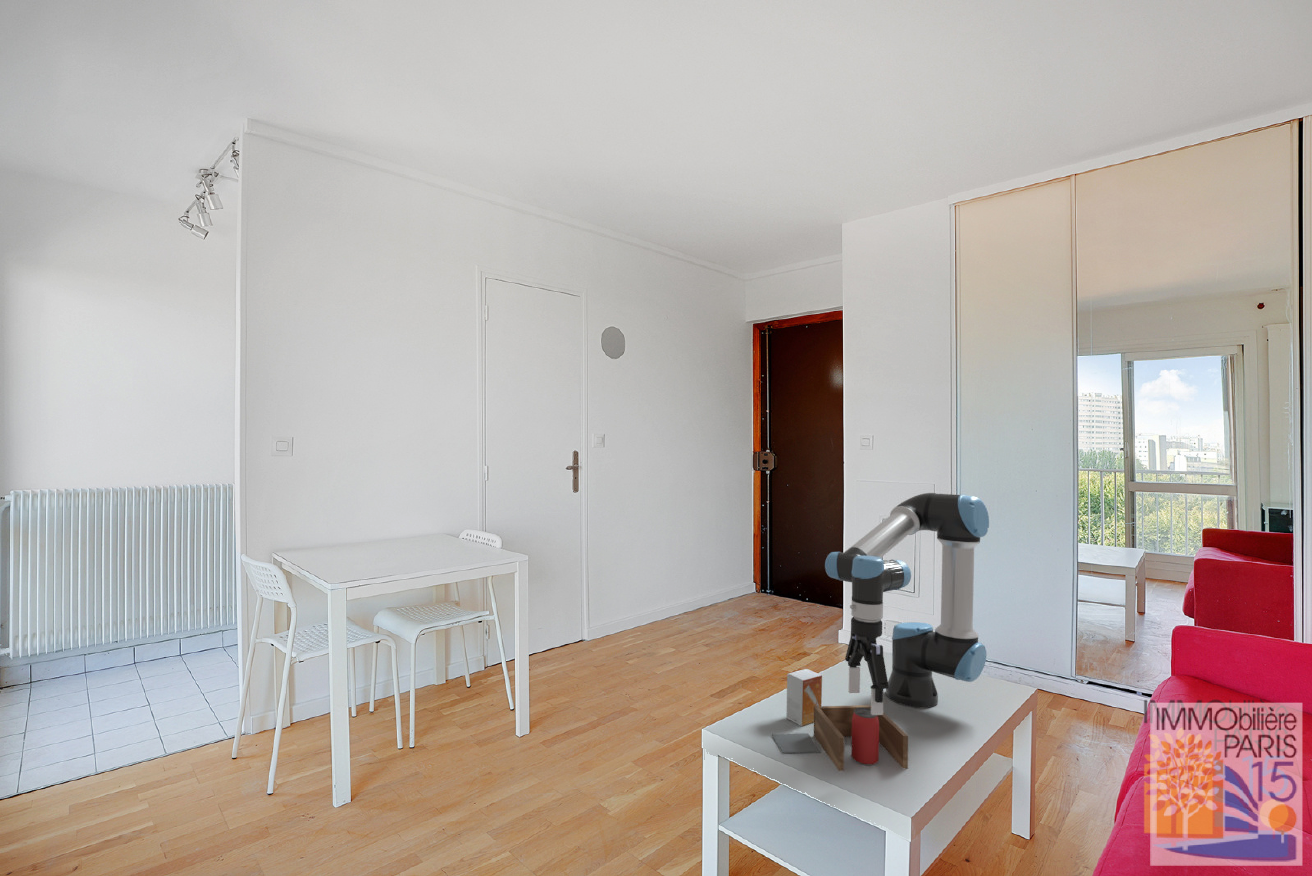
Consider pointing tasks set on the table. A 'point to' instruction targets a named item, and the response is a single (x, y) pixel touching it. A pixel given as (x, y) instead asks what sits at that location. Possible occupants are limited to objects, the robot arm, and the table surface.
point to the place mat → (796, 743)
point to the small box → (803, 695)
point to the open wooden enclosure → (838, 724)
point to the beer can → (865, 736)
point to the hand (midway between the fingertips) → (864, 703)
